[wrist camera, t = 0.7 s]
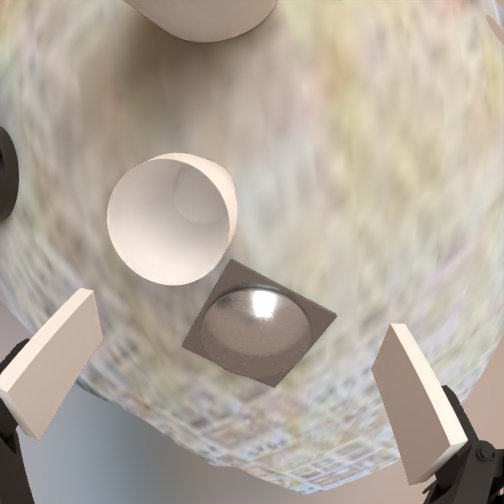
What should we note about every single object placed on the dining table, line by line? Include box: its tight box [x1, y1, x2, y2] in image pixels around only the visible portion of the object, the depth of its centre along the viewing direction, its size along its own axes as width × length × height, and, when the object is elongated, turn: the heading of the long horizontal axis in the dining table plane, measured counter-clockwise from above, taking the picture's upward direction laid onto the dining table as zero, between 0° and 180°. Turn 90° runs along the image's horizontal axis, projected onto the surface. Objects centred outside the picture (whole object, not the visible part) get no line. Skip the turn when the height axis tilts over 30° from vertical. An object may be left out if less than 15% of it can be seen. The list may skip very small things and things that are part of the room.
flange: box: [182, 259, 337, 387], centre depth 35 cm, size 14×14×2 cm
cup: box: [107, 153, 238, 285], centre depth 24 cm, size 9×9×12 cm
